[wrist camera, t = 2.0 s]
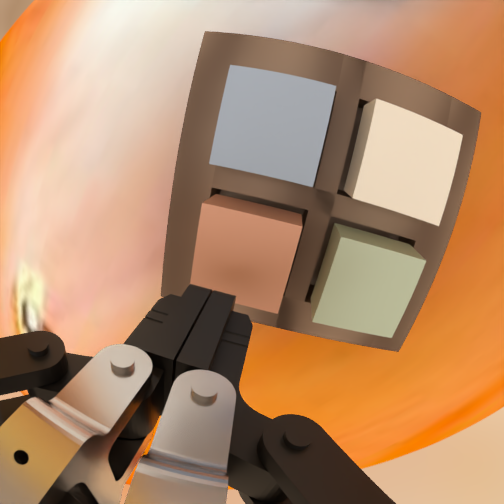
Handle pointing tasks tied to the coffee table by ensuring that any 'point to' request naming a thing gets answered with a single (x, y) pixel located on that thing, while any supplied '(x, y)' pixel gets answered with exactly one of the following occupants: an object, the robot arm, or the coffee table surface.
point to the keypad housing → (326, 180)
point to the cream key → (403, 162)
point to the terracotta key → (245, 250)
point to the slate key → (272, 124)
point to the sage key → (365, 281)
